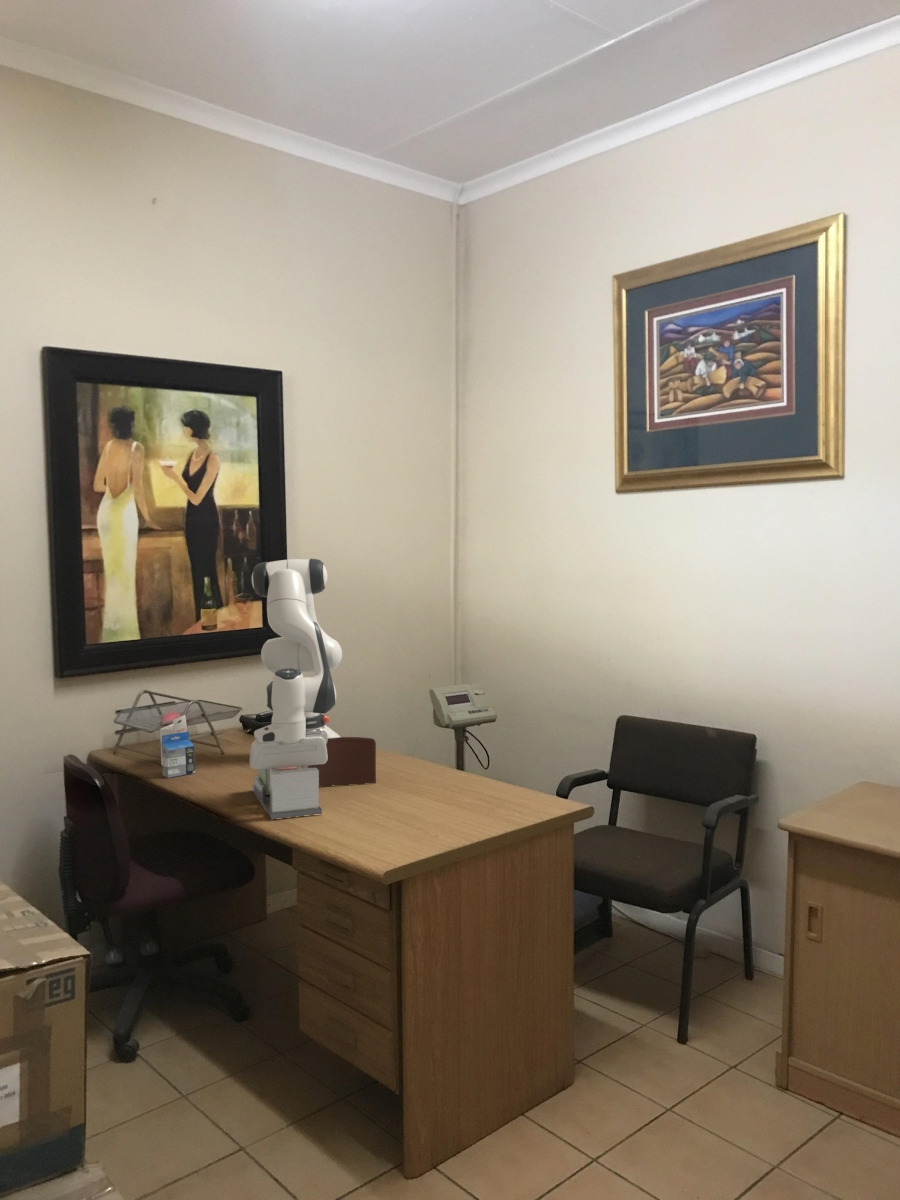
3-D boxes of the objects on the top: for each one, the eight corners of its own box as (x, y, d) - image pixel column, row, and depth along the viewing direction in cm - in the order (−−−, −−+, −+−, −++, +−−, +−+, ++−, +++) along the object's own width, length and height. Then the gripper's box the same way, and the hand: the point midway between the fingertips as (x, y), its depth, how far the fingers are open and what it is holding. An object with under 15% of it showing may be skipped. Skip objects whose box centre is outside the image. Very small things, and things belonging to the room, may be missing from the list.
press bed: (251, 790, 265) (251, 750, 264) (297, 786, 270) (297, 746, 269) (271, 820, 238) (270, 775, 237) (321, 814, 243) (321, 771, 242)
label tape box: (167, 778, 278) (167, 737, 277) (161, 775, 281) (161, 735, 280) (195, 773, 283) (195, 733, 282) (189, 770, 286) (188, 731, 286)
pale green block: (258, 784, 265) (258, 753, 264) (292, 781, 268) (292, 750, 268) (266, 795, 254) (265, 762, 253) (301, 792, 258) (301, 759, 257)
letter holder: (376, 784, 273) (376, 736, 272) (307, 788, 268) (307, 739, 267) (370, 775, 283) (370, 728, 282) (303, 779, 278) (303, 732, 277)
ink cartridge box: (173, 759, 301) (172, 713, 300) (187, 760, 300) (187, 714, 299) (160, 765, 292) (159, 719, 291) (174, 766, 291) (174, 719, 290)
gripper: (324, 726, 254) (325, 776, 255) (248, 731, 247) (248, 783, 248) (330, 730, 248) (330, 782, 249) (252, 736, 241) (252, 789, 242)
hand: (289, 783), depth 249 cm, fingers closed on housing, 4 cm apart
